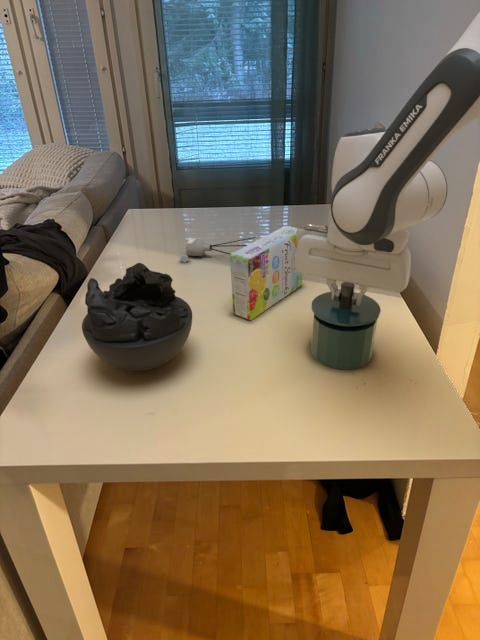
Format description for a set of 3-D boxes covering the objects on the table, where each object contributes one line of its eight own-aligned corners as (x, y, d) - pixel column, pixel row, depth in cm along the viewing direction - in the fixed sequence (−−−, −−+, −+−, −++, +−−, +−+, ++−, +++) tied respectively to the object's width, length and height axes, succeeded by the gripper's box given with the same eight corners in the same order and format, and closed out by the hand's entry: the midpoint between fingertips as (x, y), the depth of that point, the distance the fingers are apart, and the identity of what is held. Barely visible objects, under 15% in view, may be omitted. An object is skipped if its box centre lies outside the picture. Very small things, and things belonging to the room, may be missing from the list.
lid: (387, 303, 89) (391, 277, 86) (369, 336, 80) (373, 307, 77) (324, 290, 94) (326, 265, 92) (300, 319, 85) (302, 292, 82)
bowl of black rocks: (205, 335, 98) (198, 252, 88) (182, 398, 81) (171, 303, 71) (114, 330, 101) (98, 249, 91) (74, 390, 84) (49, 298, 74)
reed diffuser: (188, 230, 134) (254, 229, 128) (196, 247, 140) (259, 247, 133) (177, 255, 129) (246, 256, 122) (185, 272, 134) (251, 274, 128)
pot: (377, 344, 94) (383, 307, 89) (361, 376, 85) (367, 337, 81) (323, 330, 99) (326, 295, 94) (302, 359, 90) (304, 322, 86)
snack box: (283, 280, 119) (285, 224, 112) (302, 286, 116) (305, 228, 109) (231, 314, 105) (228, 252, 98) (250, 322, 102) (249, 258, 95)
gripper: (290, 227, 81) (287, 297, 88) (411, 246, 72) (397, 322, 79) (303, 216, 86) (300, 283, 93) (419, 233, 77) (405, 305, 84)
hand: (346, 301), depth 86 cm, fingers closed on lid, 2 cm apart
